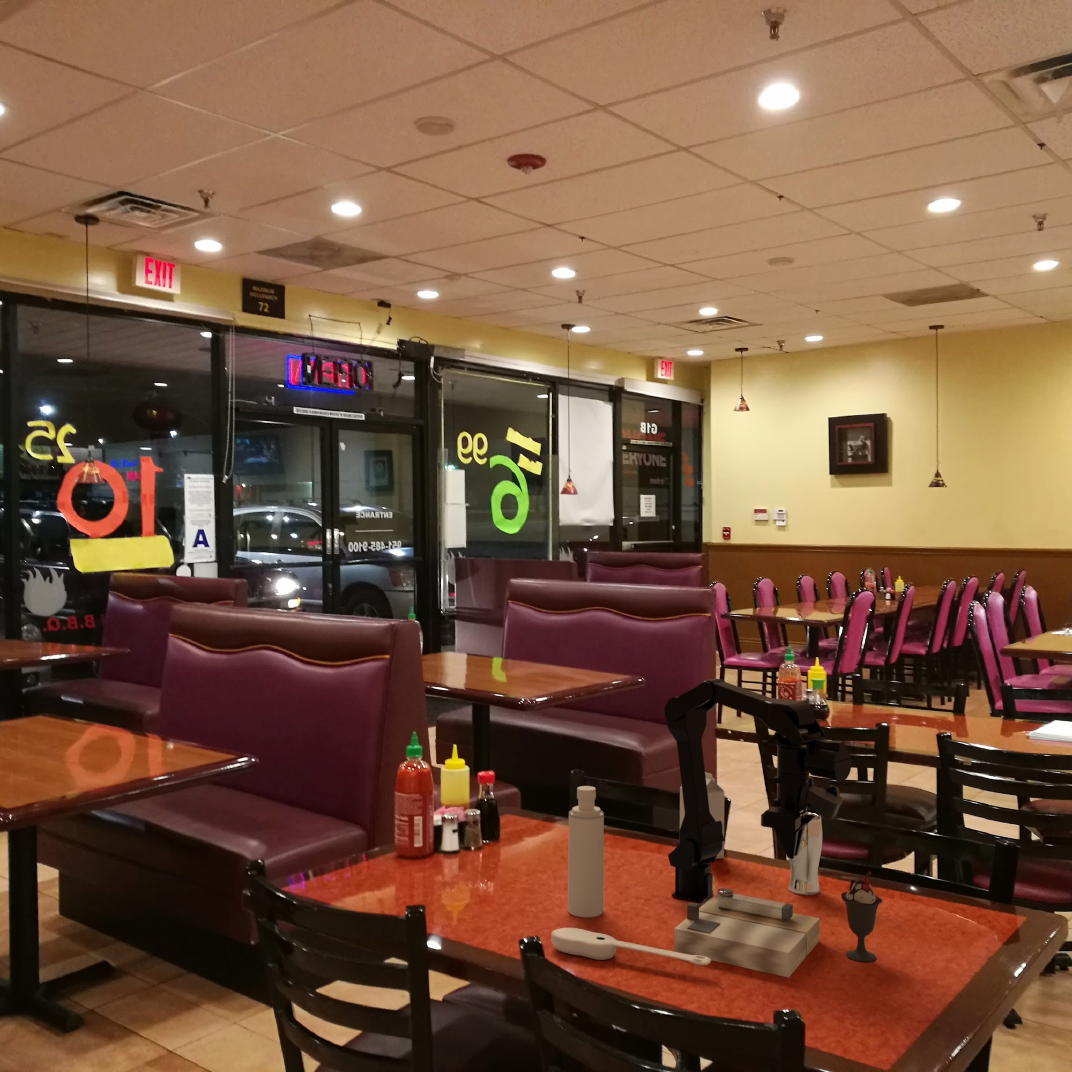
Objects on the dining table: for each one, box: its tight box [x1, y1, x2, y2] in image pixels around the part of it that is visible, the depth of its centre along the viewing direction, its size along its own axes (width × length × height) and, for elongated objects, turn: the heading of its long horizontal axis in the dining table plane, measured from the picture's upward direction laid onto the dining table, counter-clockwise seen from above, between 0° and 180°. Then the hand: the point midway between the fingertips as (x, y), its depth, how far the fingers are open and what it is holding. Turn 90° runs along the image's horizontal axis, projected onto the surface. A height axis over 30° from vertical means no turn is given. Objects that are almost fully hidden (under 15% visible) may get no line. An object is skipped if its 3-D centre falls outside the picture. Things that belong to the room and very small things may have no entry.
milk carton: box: [679, 771, 725, 860], centre depth 233 cm, size 7×7×19 cm
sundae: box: [840, 871, 883, 963], centre depth 178 cm, size 7×7×15 cm
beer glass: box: [788, 812, 823, 896], centre depth 211 cm, size 7×7×15 cm
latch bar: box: [717, 887, 794, 921], centre depth 187 cm, size 13×3×3 cm, turn 59°
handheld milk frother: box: [550, 927, 712, 966], centre depth 175 cm, size 28×6×3 cm, turn 65°
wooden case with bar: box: [673, 897, 820, 979], centre depth 182 cm, size 20×18×6 cm
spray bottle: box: [567, 785, 605, 918], centre depth 198 cm, size 7×7×25 cm
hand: (792, 856), depth 191 cm, fingers closed
